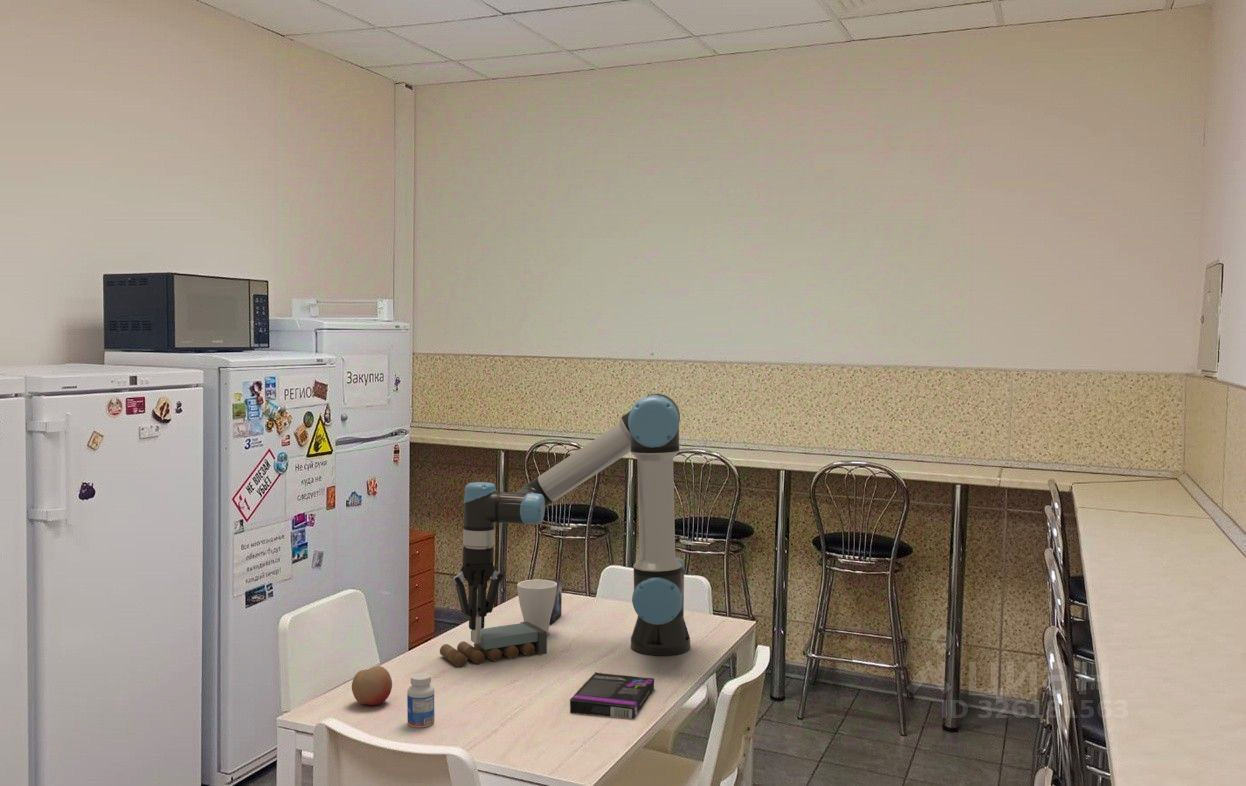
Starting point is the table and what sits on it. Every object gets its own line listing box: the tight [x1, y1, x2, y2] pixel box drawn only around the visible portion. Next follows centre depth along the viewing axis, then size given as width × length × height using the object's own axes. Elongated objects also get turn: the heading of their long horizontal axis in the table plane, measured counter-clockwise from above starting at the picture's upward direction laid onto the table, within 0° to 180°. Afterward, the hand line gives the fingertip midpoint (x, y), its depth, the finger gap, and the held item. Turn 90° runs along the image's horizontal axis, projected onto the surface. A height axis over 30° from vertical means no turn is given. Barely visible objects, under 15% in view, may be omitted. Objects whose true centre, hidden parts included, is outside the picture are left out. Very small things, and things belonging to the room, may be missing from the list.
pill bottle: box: [406, 672, 436, 729], centre depth 209 cm, size 6×5×10 cm
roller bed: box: [439, 641, 536, 668], centre depth 254 cm, size 10×21×3 cm, turn 121°
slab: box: [470, 623, 538, 650], centre depth 257 cm, size 9×14×2 cm, turn 121°
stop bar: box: [520, 621, 548, 656], centre depth 261 cm, size 11×2×6 cm, turn 31°
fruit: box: [351, 665, 393, 707], centre depth 220 cm, size 8×8×8 cm
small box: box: [540, 577, 563, 626], centre depth 288 cm, size 11×6×10 cm, turn 168°
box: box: [569, 672, 655, 720], centre depth 223 cm, size 14×4×20 cm
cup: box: [516, 579, 557, 636], centre depth 273 cm, size 10×10×14 cm
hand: (476, 642), depth 252 cm, fingers closed
